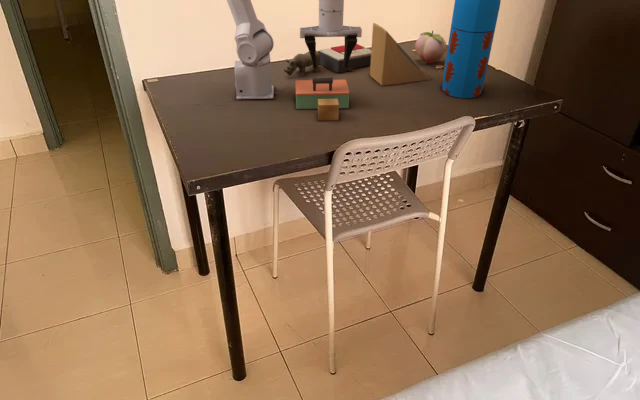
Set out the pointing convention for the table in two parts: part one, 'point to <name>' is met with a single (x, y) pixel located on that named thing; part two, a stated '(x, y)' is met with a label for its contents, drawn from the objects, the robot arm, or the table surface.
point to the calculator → (336, 58)
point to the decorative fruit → (430, 47)
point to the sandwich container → (391, 60)
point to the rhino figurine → (302, 63)
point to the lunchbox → (312, 101)
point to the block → (328, 109)
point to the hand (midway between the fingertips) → (329, 66)
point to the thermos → (469, 47)
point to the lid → (322, 87)
